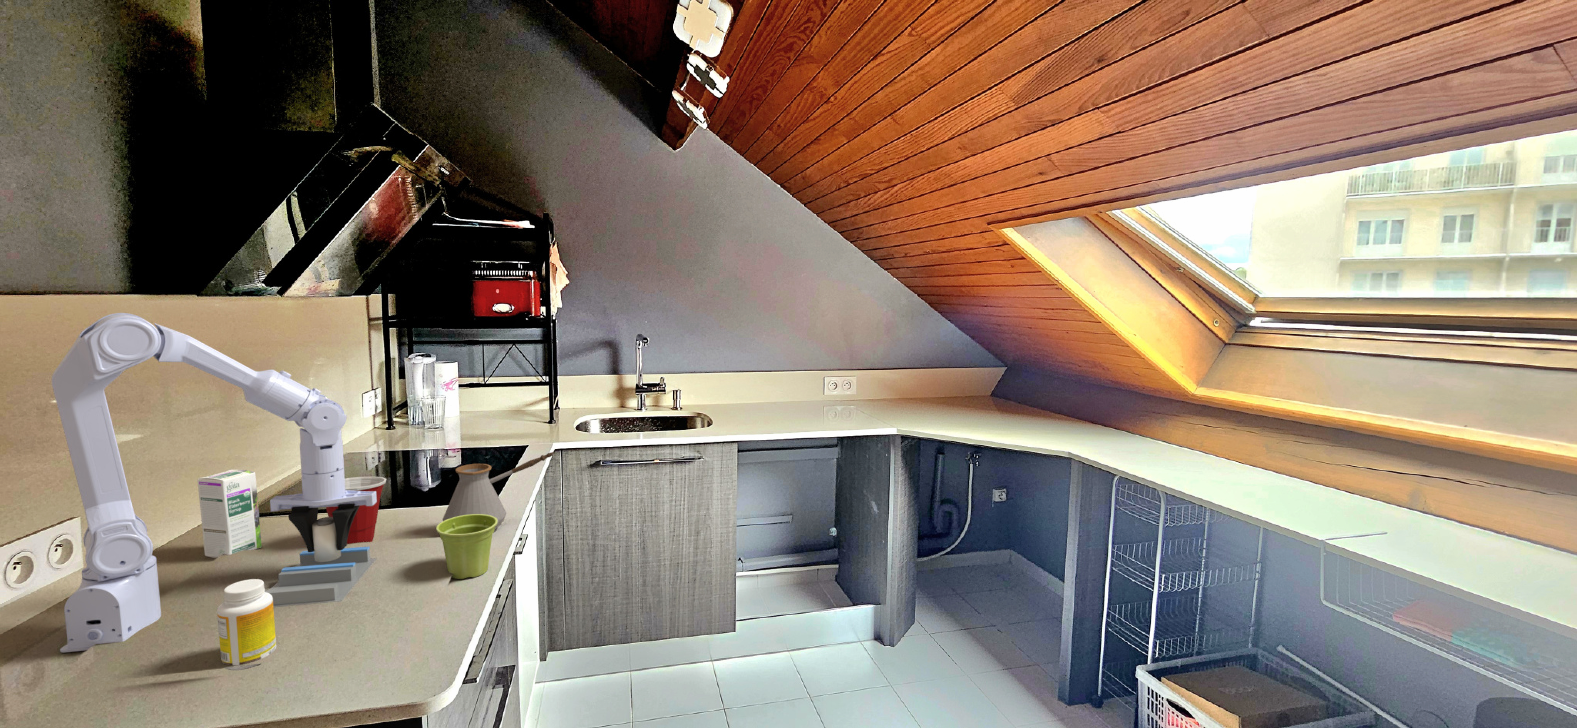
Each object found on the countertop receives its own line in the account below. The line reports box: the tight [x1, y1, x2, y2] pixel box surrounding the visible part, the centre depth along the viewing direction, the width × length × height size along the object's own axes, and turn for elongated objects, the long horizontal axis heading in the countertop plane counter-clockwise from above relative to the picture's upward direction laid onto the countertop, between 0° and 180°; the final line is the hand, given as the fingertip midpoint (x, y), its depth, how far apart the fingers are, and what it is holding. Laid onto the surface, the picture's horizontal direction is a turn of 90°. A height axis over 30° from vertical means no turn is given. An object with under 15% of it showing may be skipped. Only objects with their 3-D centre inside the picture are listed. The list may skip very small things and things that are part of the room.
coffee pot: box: [442, 451, 558, 532], centre depth 131 cm, size 21×12×15 cm, turn 113°
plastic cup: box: [325, 476, 387, 545], centre depth 122 cm, size 11×11×12 cm
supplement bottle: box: [216, 578, 277, 671], centre depth 84 cm, size 6×6×10 cm
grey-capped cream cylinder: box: [312, 516, 341, 562], centre depth 108 cm, size 4×4×7 cm
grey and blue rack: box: [265, 546, 378, 608], centre depth 105 cm, size 16×12×3 cm
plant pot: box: [435, 514, 498, 580], centre depth 111 cm, size 9×9×9 cm
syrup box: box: [197, 469, 263, 559], centre depth 116 cm, size 6×6×14 cm
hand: (327, 548), depth 108 cm, fingers closed on grey-capped cream cylinder, 4 cm apart
